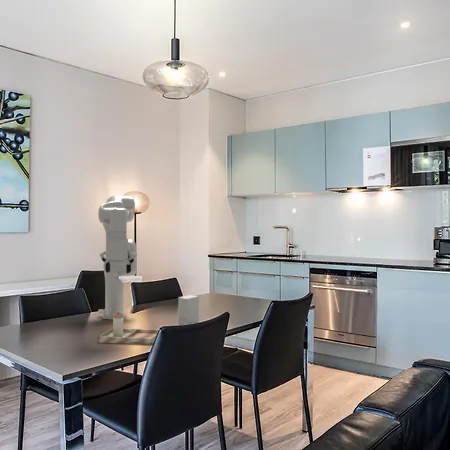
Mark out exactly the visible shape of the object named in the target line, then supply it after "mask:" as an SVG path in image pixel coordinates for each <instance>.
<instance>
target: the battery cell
mask: <svg viewBox="0 0 450 450" xmlns="http://www.w3.org/2000/svg"><path fill="white" fill-rule="evenodd" d="M124 314H125V312H124V313H121V312H120V311H117V312H116V313H113V320H112V328H113V337H123V328H124V318H123V317H124Z"/></svg>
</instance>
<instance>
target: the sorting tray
mask: <svg viewBox="0 0 450 450" xmlns="http://www.w3.org/2000/svg"><path fill="white" fill-rule="evenodd" d="M158 330H159V329H151V328H150V329H149V328H148V329H147V328H146V329H145V328H124V327H123V337H113V327H111V328H109V329H108V330H107V331H105V332H103V333H102V334H100V335H98V336H97V343H98V344H124V345H125V344H127V345H147V346H148V345H151V346H153V345H154V344H153V342H154V339H155V337H156V334H157V332H158ZM152 344H153V345H152Z"/></svg>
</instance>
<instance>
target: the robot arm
mask: <svg viewBox="0 0 450 450" xmlns="http://www.w3.org/2000/svg"><path fill="white" fill-rule="evenodd" d="M135 209H136V203H135V200H134V198H133V197H132V196H129V195H111V196H109V198H108V199H107V200H106V203H102V204H101V205H100V206H99V208H98V210H97V211H98V212H97V213H98V214H97V215H98V221H99V222H100V224H102V226H103V229H104V231H105V251H104V252H101V253H100V254H99V257H100V258H101V260H102V262H103V273H104V283H105V284H104V286H105V287H104V288H105V289H104V291H105V295H104V298H105V299H104V300H105V301H104V302H105V304H104V305H105V306H104V307H105V308H104V309H102V308H101V309H98V314H103V315H101V317H102V319H104V320H111V321H113V313H116V312H117V311H120V312H121V313H124V317H123V319H125V318H127V314H126V313H125V312H124V283H123V281H122V280H121V279H120V278H119V277H130V276H132V277H133V276H135V275H136V274H137V272H138V271H137V270H138V262H137V260H138V259H137V258H138V257H137V256H138V255H137V245H136V244H137V243H136V242H135V240H134V239H130V238H128V236H127V235H128V234H127V231H128V230H127V227H128V226H127V223H130V222H133V220H134V216H135Z"/></svg>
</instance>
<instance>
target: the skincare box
mask: <svg viewBox="0 0 450 450" xmlns="http://www.w3.org/2000/svg"><path fill="white" fill-rule="evenodd" d="M177 299H178V300H177V302H178V304H177V306H178V308H177V309H178V311H177V312H178V313H177V314H178V317H177V318H178V319H177V320H178V325H185V324H192V323H198V322H200V321H199V312H200V311H199V309H200V308H199V304H200V303H199V302H200V301H199V300H200V299H199V295H193V294H188V295H183V296H178V298H177ZM178 325H177V326H178Z"/></svg>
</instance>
